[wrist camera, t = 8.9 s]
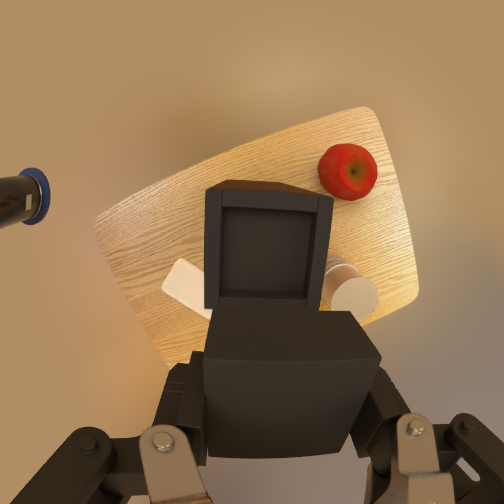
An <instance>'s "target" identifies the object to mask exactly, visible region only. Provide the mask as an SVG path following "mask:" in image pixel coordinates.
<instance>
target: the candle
mask: <svg viewBox="0 0 504 504" xmlns="http://www.w3.org/2000/svg"><path fill="white" fill-rule="evenodd" d="M378 295H379V294H378V289H377V287H376V285H375V284H374V283H373V282H372V281H371V280H370V279H368V278H366V277H364V276H363V275H362V274H361V272H360V270H359V269H358V268H357V267H356V266H355V265H354V264H353V263H352V262H350V261H349V260H348V259H347V258H346V257H344V256H343V255H342V254H341V253H340V252H338V251H336V250H334V249H330V248H328V254H327V262H326V269H325V275H324V282H323V288H322V295H321V298H322V299H323V301H324V302H326V303H327V304H328V305H329V307H330V311H350V312H351V313H352V314H353V316H354V317H355V319H356V320H357V321H358V323H360V322H362V321H364V320H365V319H367V318H368V317H369V316H370V315H371V314H372V313H373V311H374V310H375V308H376V306H377V303H378Z"/></svg>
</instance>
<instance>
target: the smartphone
mask: <svg viewBox="0 0 504 504" xmlns="http://www.w3.org/2000/svg"><path fill="white" fill-rule="evenodd" d="M161 288H162V290H163V291H164V292H165V293H167V294H168V295H170V296H171V297H173V298H174V299H176V300H178V301H179V302H181V303H182V304H184V305H185V306H187V307H189V308H190V309H192V310H193V311H195V312H197V313H198V314H200V315H202V316H203V317H205V318H207V319H208V320H210V319H211V314H212V309H204V271H203V270H201V269H200V268H198V267H197V266H195V265H194V264H192V263H191V262H189V261H188V260H186V259H185V258H179V259H178V260H177V261H176V263H175V265H174V266H173V268H172V269H171V271H170V273H169V274H168V276H167V278H166V279H165V281H164V282H163V284H162V287H161Z"/></svg>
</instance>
